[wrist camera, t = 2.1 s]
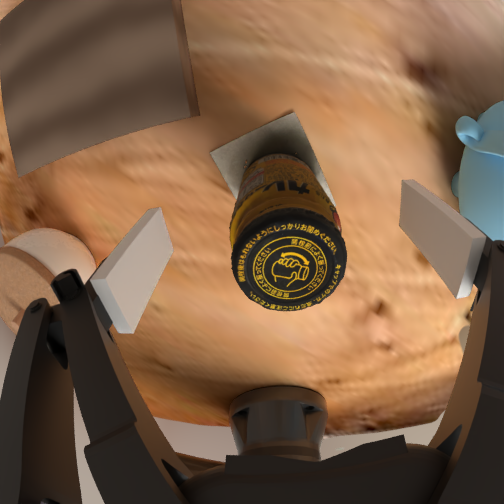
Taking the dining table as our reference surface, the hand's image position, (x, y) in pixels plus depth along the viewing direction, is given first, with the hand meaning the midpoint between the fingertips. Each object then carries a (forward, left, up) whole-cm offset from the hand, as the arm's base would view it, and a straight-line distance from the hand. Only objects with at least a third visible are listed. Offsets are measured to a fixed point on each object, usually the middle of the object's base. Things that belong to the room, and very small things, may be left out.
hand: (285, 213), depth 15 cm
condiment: (0, 0, -9) cm, 9 cm away
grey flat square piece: (+15, +14, -9) cm, 22 cm away
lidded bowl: (-5, +23, -9) cm, 25 cm away
